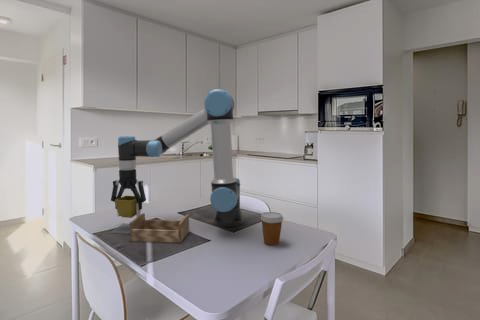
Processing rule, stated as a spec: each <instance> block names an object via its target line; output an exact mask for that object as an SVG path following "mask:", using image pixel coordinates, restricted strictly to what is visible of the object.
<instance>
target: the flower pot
mask: <svg viewBox="0 0 480 320" xmlns="http://www.w3.org/2000/svg"><path fill="white" fill-rule="evenodd" d="M140 197H141V196H140ZM115 203H116V208H117V209H116V208H115V209H116V211H118V213H119V215H120V216H119V217H121V218H129V219H131V218H133V217H134V218H135V216H137V207H136V204H137V203H138V202H137V200H136V198H135V196H134V195H124V196H123V195H122V196H121V198H119V199H116V200H115V202H114V204H115Z"/></svg>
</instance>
